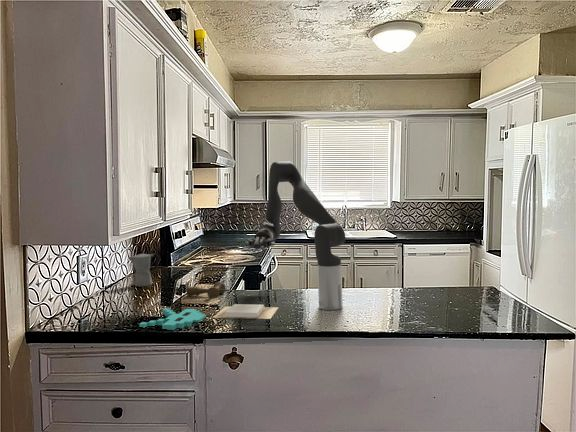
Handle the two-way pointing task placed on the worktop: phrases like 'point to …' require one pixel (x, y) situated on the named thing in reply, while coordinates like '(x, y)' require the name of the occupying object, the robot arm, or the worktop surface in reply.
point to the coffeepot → (143, 268)
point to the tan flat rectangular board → (265, 314)
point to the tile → (245, 310)
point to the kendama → (207, 290)
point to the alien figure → (176, 319)
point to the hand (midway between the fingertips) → (256, 246)
